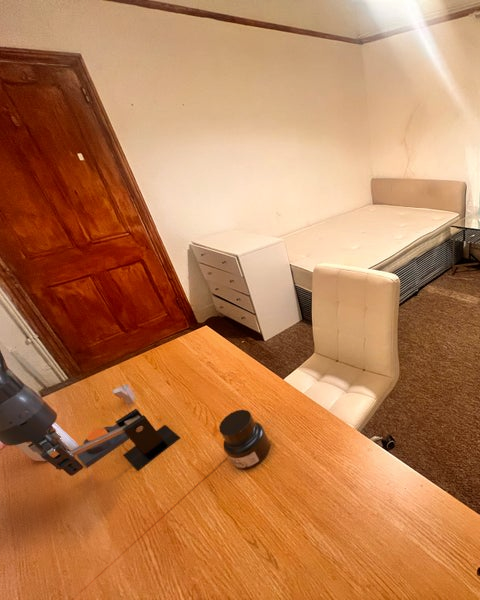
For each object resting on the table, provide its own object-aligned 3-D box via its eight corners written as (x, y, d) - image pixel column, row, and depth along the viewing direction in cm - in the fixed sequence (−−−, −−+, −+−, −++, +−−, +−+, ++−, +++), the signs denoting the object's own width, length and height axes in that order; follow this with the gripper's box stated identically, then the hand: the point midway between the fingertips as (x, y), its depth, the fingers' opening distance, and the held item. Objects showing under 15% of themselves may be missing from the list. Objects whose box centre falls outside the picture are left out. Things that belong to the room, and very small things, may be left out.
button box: (89, 469, 76) (79, 460, 74) (79, 456, 79) (69, 447, 77) (135, 437, 83) (127, 428, 81) (124, 426, 86) (116, 417, 84)
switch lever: (65, 469, 63) (61, 460, 62) (57, 458, 66) (53, 449, 65) (146, 428, 75) (144, 420, 74) (137, 420, 77) (135, 412, 76)
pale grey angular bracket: (128, 396, 96) (114, 378, 92) (135, 393, 97) (121, 375, 93) (127, 411, 91) (111, 392, 87) (134, 408, 92) (119, 389, 87)
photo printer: (31, 463, 78) (-6, 433, 72) (47, 447, 82) (13, 417, 76) (69, 461, 78) (36, 431, 72) (84, 445, 82) (53, 415, 75)
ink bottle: (223, 463, 75) (203, 432, 69) (249, 432, 82) (233, 402, 75) (254, 475, 72) (236, 444, 65) (279, 442, 79) (265, 411, 72)
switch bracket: (139, 473, 74) (112, 443, 68) (125, 457, 78) (98, 428, 72) (181, 439, 81) (160, 410, 75) (167, 427, 85) (145, 398, 79)
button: (94, 447, 77) (89, 442, 76) (88, 440, 79) (84, 436, 78) (111, 435, 80) (107, 431, 79) (105, 429, 81) (101, 425, 80)
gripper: (-23, 412, 58) (39, 463, 67) (-6, 446, 51) (60, 499, 60) (31, 385, 63) (82, 436, 72) (53, 413, 56) (106, 465, 65)
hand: (72, 464), depth 66 cm, fingers closed on switch lever, 5 cm apart
